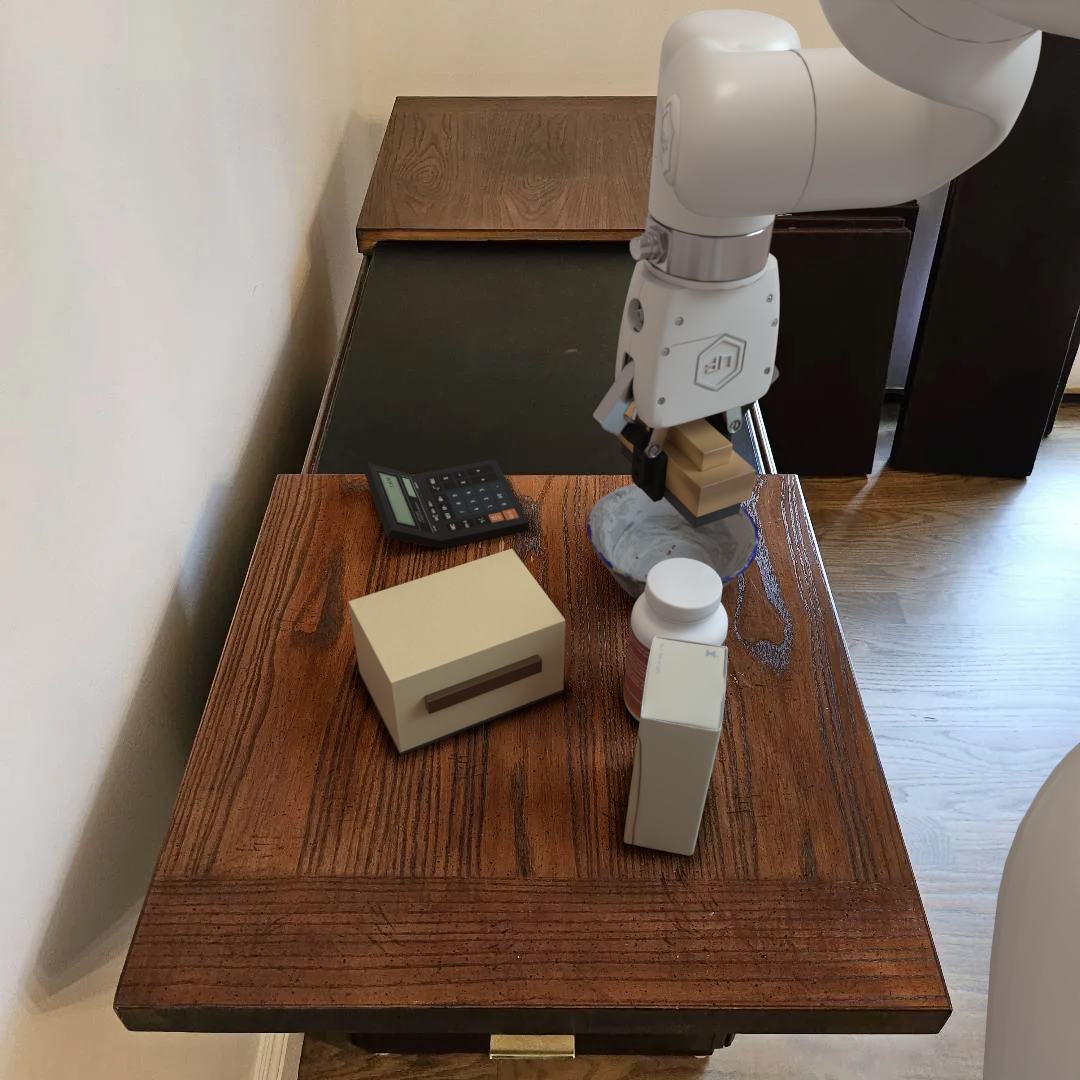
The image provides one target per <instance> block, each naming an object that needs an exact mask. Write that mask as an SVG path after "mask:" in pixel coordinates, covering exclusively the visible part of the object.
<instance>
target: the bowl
mask: <svg viewBox="0 0 1080 1080" xmlns="http://www.w3.org/2000/svg"><path fill="white" fill-rule="evenodd" d="M586 524H587V525H586V529H587V530H586V532H587V536H588V540H589V544H590V545H591V547H592V549H593V550H594V552H595V554H596V555H597V557H598V558H599V560H600V561H601V562H602V564H603V565H604V566H605V568H606V569H607V571H608V572H609V573H610V574H611V576H612V577H613V578H614V580H615V581H616V582H617V584H618V585H619V586H620V587H621V588H622V589H623V591H624V592H626V593H627V594H628V595H629V596H630V597H632V598H633V599H635V600H636V601H637V599H638V598H639V597H640V596H641V594H643V593H644V592H645V586H646V580H647V576H648V573H649V571H650V570H651V569H652V568H653V567H654V566H655V565H656V564H658V563H659V562H661V561H664V560H667V559H672V558H688V559H693V560H697V561H700V562H702V563H704V564H706V565H708V566H709V567H711V568H712V569H713V570H714V571H715V572H716V573H717V574H718V575H719V577H720V579H721V582H722V589H724V588H725V587H726V586H729V585H730V583H731V582H732V581H733V580H736V578H738V577H740V576H741V575H742V574H743V573H744V572H746V571H747V570H748V569H749V567H750V566H751V565H752V563H753V562H754V560H755V559H756V556H757V553H758V551H759V543H760V542H759V541H760V539H759V538H760V536H759V530H758V529H759V526H758V525H757V524H756V523H755V520H754V518H753V517H752V516H751V515H750V513H749V512H748V511H747V509H746V508H745V507H743V506H742V505H741V506H740V512H739V514H736V515H733V516H730V517H727V518H724V519H721V520H718V521H715V522H712V523H709V524H706V525H704V526H701V527H698V528H693V527H692V526H691V524H690V523H689V522H688V521H687V520H686V519H685V518H684V517H683V516H682V515H681V514H680V513H679V512H678V511H677V510H676V509H675V508H674V507H673V506H672V505H671V504H670V503H669V502H668V501H667V500H666V499H665V498H664V497H663V498H662V500H660V501H657V502H653V501H652V500H651V499H650V498H649V497H648V496H647V494H646V493H645V492H644V491H643V490H642V489H640V488H638V487H637V486H636V485H635V483H634V482H633V483H630V484H627V485H624V486H621V487H619V488H615V489H614V490H613V491H611V492H609V493H607V494H606V495H604V496H602V497H600V499H598V500H597V501H596V502H595V503H594V504H593V506H592V508H591V509H589V512H588V514H587V518H586Z"/></svg>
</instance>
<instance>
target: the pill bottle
mask: <svg viewBox="0 0 1080 1080" xmlns="http://www.w3.org/2000/svg"><path fill="white" fill-rule="evenodd" d="M722 594H723V588H722V582H721V579H720V577H719V575H718V574H717V573H716V572H715V571H714V570H713V569H712V568H711V567H709V566H708V565H706V564H704V563H702V562H700V561H697V560H693V559H688V558H672V559H667V560H664V561H661V562H659V563H658V564H656V565H655V566H654V567H653V568H652V569H651V570H650V571H649V573H648V576H647V580H646V586H645V592H644V593H643V594H641V596H640V597H639V598H638V599H637V600H636V601H635V602H634V605H633V607H632V610H631V616H630V622H629V623H630V624H629V633H628V641H627V642H628V643H627V653H626V663H625V673H624V682H623V700H624V703H625V706H626V708H627V710H628V712H629V713H630V715H631V716H632V717H633V718H634V719H635V720H636V721H637V722H639V723H640V715H641V707H642V699H643V692H644V685H645V678H646V672H647V666H648V660H649V655H650V650H651V645H652V641H653V638H654V637H655V636H660V637H667V638H674V639H682V640H687V641H694V642H701V643H706V644H713V645H718V646H726V641H727V637H728V636H727V635H728V628H729V618H728V617H729V616H728V614H727V611H726V609H725V607H724V605H723V603H722V602H721V601H722V596H723V595H722Z"/></svg>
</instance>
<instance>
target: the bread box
mask: <svg viewBox="0 0 1080 1080" xmlns="http://www.w3.org/2000/svg"><path fill="white" fill-rule="evenodd" d="M397 585H398V586H395V585H393V586H394V587H391V586H390V587H391V588H389V587H387V588H388V589H387V588H385V589H382V590H379V591H375V592H373V593H370V594H367V595H364V596H361V597H358V598H354V599H352V600H349V601H348V609H349V615H350V621H351V622H350V623H351V627H352V634H353V640H354V646H355V652H356V658H357V663H358V670H357V671H358V675H359V677H360V678H361V680H362V682H363V685H364V686H365V688H366V690H367V692H368V695H369V696H370V698H371V700H372V702H373V705H374V706H375V708H376V711H377V712H378V714H379V717H380V718H381V720H382V722H383V725H384V727H385V728H386V730H387V732H388V735H389V736H390V739H391V741H392V743H393V745H394V747H395V749H396V751H397V752H398V755H399V756H400V757H401V756H403V755H406V754H409V753H411V752H414V751H417V750H419V749H422V748H424V747H426V746H429V745H432V744H434V743H437V742H440V741H442V740H446V739H447V738H449V737H450V738H451V737H452V736H455V735H458V734H460V733H463V732H465V731H468V730H470V729H473V728H475V727H478V726H481V725H483V724H486V723H488V722H491V721H494V720H497V719H499V718H501V717H504V716H506V715H509V714H511V713H514V712H517V711H520V710H523V709H525V708H528V707H530V706H532V705H535V704H537V703H540V702H542V701H546V700H548V699H550V698H553V697H556V696H558V695H561V694H563V693H565V688H564V678H565V677H564V676H565V674H564V673H565V646H566V644H565V643H566V619H565V618H564V616H563V615H562V613H561V612H560V610H559V609H558V608H557V607H556V605H555V604H554V603H553V601H552V600H551V598H549V596H548V595H547V593H546V592H545V591H544V589H543V588H542V587H541V585H539V583H538V581H537V580H536V579H535V577H534V576H533V575H532V573H531V572H530V571H529V570H528V568H527V567H526V565H525V564H524V562H523V561H522V560H521V558H520V557H519V556H518V555H517V553H516V552H515V550H514V549H513V548H509V549H506V550H501V551H499V552H496V553H493V554H490V555H487V556H483V557H481V558H478V559H475V560H471V561H469V562H466V563H462V564H460V565H456V566H452V567H450V568H447V569H443V570H441V571H437V572H435V573H431V574H429V575H426V576H422V577H419V578H415V579H413V580H410V581H407V582H404V583H401V584H397Z"/></svg>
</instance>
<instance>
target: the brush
mask: <svg viewBox="0 0 1080 1080" xmlns="http://www.w3.org/2000/svg"><path fill="white" fill-rule="evenodd" d="M634 406H635V401H633V402H632V403H631V405H630V406H629V408H628V409H627V411H626V412H625V414H626V415H627V416H629V417H630V418H631V416H632V413H633V409H634ZM649 429H650V427H649V426H647V428H646V430H647V431H649ZM615 437H616V438H618V440H619V441H620V442H621V444H620V445H621V447H620V454H621V455H622V456H623V457H624V458H625V459H626V460H627V461H628V462H629V463H630V464H631V465H632V457H633V446H634V445H633V444H631V443H630V442H628V441H627V440H626V439H625V438H623V437H621V436H617V435H615ZM733 446H734V444H733V443H732V441H731V442H730V441H728V440H727V439H726V438H725V437H724V436H723V435H722V434H720V433H719V432H718V431H717V430H716V429H715V428H714V427H713V426H711V425H710V424H709V423H708V422H707V421H706V420H705V419H703V418H700V419H697V420H693V421H690V422H687V423H683V424H680V425H676V426H672V427H669V430H668V433H667V436H666V439H665V442H664V445H663V448H662V450H663V451H664V452H665V453H666V454H667V458H668V460H667V469H666V478H665V491H664V498H665V499H666V500H667V501H668V502H669V503H670V504H671V505H672V506H673V507H674V508H675V509H676V510H677V511H678V512H679V513H680V514H681V515H682V516H683V517H684V518H685V519H686V520H687V521H688V522H689V523H690V524H691V526H692V527H693V528H698V527H701V526H704V525H706V524H709V523H712V522H715V521H718V520H721V519H724V518H727V517H730V516H733V515H736V514H739V512H740V506H742V503H743V502H746V501H749V500H751V499H752V494H753V489H754V483H755V479H756V472H757V470H756V469H755V468H754V467H753V466H752V465H750V463H748V462H747V461H746V460H745V459H744V458H743V457H742V456H740V455H739V454H738V453H737V452H736V451H735V450H734V449H733Z"/></svg>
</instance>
